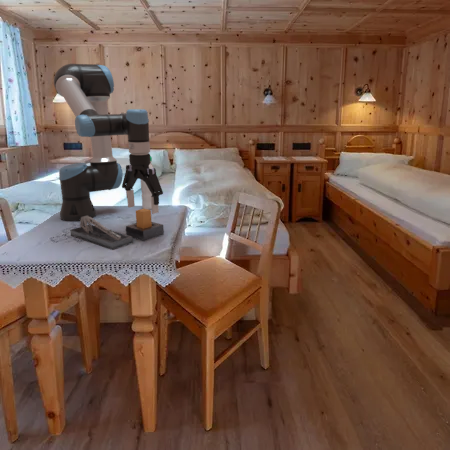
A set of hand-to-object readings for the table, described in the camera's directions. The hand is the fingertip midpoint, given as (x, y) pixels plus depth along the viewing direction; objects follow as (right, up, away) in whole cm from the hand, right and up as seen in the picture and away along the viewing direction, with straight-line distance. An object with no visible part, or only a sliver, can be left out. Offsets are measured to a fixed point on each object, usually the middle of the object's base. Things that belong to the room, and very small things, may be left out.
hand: (143, 209), depth 154 cm
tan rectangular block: (0, -10, +2) cm, 10 cm away
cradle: (-15, -11, -1) cm, 19 cm away
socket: (0, -10, +2) cm, 10 cm away
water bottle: (-5, +2, +43) cm, 44 cm away
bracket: (-15, -10, -2) cm, 18 cm away
